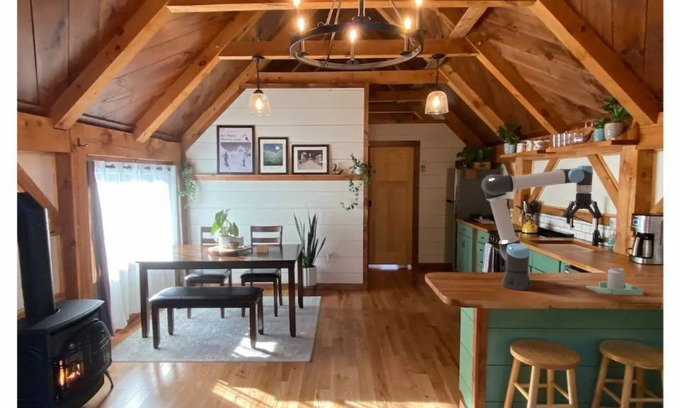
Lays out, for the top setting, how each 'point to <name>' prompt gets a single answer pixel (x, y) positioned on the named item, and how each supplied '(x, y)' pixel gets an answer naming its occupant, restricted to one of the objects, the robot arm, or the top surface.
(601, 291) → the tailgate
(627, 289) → the green open box
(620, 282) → the can
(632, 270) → the top surface
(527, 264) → the robot arm
